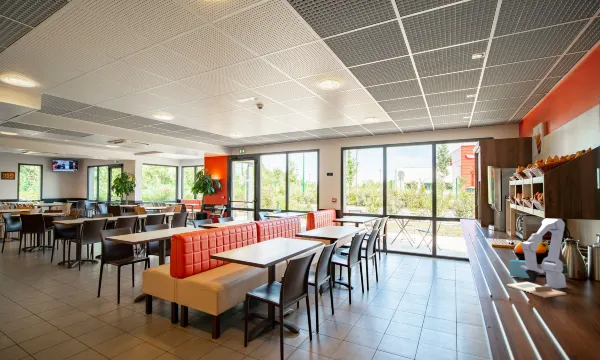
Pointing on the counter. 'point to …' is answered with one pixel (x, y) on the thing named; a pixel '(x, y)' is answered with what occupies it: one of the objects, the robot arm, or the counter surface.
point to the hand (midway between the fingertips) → (533, 282)
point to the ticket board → (524, 286)
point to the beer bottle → (564, 266)
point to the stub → (547, 292)
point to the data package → (517, 268)
